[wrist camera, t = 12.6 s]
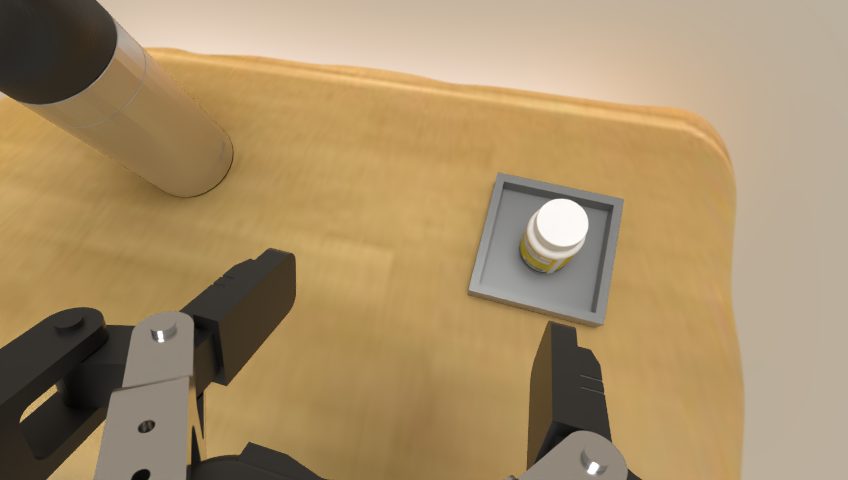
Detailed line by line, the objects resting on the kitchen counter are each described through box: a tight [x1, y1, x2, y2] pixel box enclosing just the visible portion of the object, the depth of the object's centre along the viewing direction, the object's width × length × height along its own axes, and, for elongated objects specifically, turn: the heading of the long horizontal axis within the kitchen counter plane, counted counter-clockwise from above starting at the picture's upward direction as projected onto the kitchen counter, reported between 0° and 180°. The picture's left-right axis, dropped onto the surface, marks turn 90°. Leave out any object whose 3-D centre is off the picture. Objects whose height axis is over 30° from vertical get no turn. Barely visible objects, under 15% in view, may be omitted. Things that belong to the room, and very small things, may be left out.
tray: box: [468, 172, 624, 327], centre depth 42 cm, size 12×12×2 cm
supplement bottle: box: [519, 199, 589, 274], centre depth 38 cm, size 5×5×8 cm
